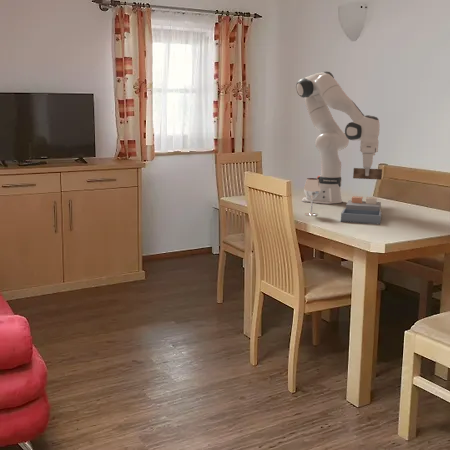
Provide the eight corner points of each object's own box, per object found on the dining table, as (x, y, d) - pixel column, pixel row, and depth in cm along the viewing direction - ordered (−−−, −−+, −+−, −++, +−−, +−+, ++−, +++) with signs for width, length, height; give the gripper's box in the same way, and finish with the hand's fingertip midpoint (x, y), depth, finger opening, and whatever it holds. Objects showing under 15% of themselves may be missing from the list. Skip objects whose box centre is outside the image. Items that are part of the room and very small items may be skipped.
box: (340, 221, 289) (341, 213, 288) (343, 216, 301) (343, 208, 300) (379, 224, 284) (380, 215, 283) (380, 219, 296) (381, 211, 295)
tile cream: (365, 203, 304) (366, 198, 303) (366, 201, 309) (366, 197, 308) (376, 204, 303) (376, 199, 302) (376, 202, 307) (376, 197, 307)
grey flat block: (345, 216, 301) (346, 204, 299) (348, 211, 314) (348, 200, 312) (378, 218, 296) (379, 206, 295) (380, 213, 309) (380, 202, 308)
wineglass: (301, 212, 309) (303, 177, 305) (318, 213, 309) (319, 177, 306) (304, 216, 301) (305, 179, 297) (320, 216, 301) (322, 180, 298)
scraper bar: (353, 178, 312) (353, 168, 311) (353, 177, 315) (353, 167, 314) (381, 179, 309) (382, 169, 308) (380, 178, 312) (381, 169, 311)
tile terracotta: (351, 202, 306) (351, 197, 305) (352, 201, 311) (352, 196, 310) (361, 203, 304) (362, 198, 304) (362, 201, 309) (362, 196, 309)
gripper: (363, 146, 319) (362, 172, 322) (361, 149, 300) (359, 177, 303) (376, 146, 318) (374, 173, 321) (374, 150, 298) (372, 178, 301)
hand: (367, 175), depth 312 cm, fingers closed on scraper bar, 3 cm apart
